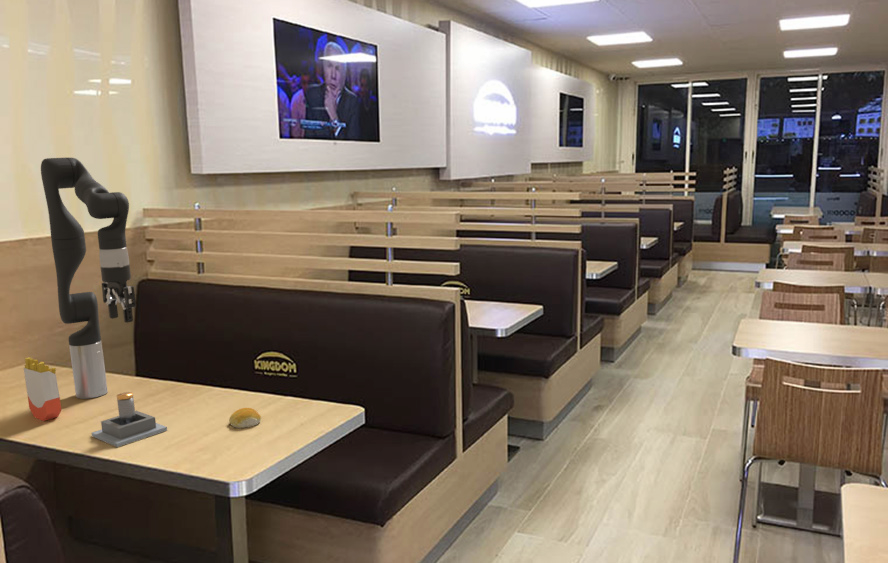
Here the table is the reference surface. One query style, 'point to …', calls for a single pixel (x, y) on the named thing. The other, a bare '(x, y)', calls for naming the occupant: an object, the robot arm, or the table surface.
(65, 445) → the table surface
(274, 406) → the table surface
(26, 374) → the french fries container
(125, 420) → the cylinder
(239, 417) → the bread roll
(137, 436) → the socket
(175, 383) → the table surface
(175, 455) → the table surface
